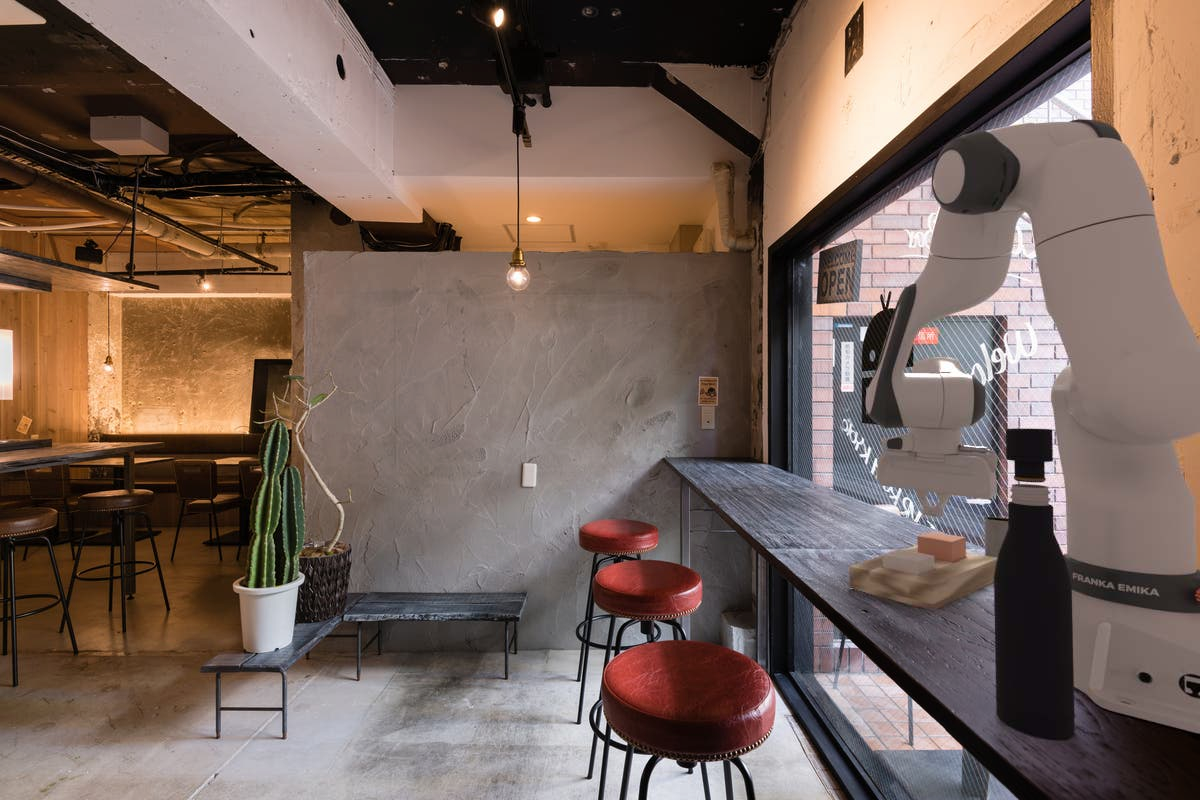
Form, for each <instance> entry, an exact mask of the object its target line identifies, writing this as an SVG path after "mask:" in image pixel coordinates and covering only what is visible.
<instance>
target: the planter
mask: <svg viewBox="0 0 1200 800" xmlns="http://www.w3.org/2000/svg"><path fill="white" fill-rule="evenodd" d="M983 524H984V555H985V556H991V557H996V558H998V554H999V551H1000V548H1001V546H1002V543H1003V541H1004V538H1005V536H1006V533H1007V531H1008V517H1002V516H985V517H984V523H983Z"/></svg>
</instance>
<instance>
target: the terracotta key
mask: <svg viewBox="0 0 1200 800" xmlns="http://www.w3.org/2000/svg"><path fill="white" fill-rule="evenodd" d="M966 538H967V537H965V536H960V535H953V534H948V533H947V534H946V533H940V532H935V531H931V532H927V533H924V534H920V535H918V536H917V545H918V553H922V554H928V555H933V556H934V559H935V560H941V561H946V562H951V563H954V562H957V561H959V560H962V559H965V558H966V552H967V547H966V545H967V544H966V543H967V539H966Z"/></svg>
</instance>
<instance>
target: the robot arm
mask: <svg viewBox="0 0 1200 800" xmlns="http://www.w3.org/2000/svg"><path fill="white" fill-rule="evenodd" d="M931 174H932V175H931V189H932V194H933V196H934V199H935V200H936V202H937V203H938V205H939V207H938V210H937V214H936V218H935V220H934V224H933V228H932V234H931V237H930V243H929V251H928V256H927V257H928V258H927V261H926V263H925V266H924V268H923V270H922V272H921V273H920V275H919V276H918V277H917V279H916V280H914V282H911V283H910V284H908V285H906V286H905V287H904V288H903V290H902V291H901V293H900V295H899V297H898V299H897V301H896V305H895V308H894V311H893V314H892V316H891V319H890V322H889V326H888V328H887V329H888V330H887V333H886V336H885V339H884V342H883V345H882V348H881V353H880V354H879V355H880V356H879V359H878V363H877V365H876V368H875V370H874V373H873V375H872V378H871V380H870V383H869V385H868V389H867V390H866V395H865V409H866V414H867V415H868V416H867V417H869V418H870V419H871V421H873V422H874V423H876V424H877V425H879V426H880V427H881V428H883V429H897V428H898V429H901V428H905V427H906V428H907V429H908V430H907V433H903V434H902V433H901V434H898V435H896V436H891V437H887V438H883V439H882V440H881V448H882V449H883V451H881V452H880V454H879V456H878V460H877V466H876V481H877V483H878V484H879V485H880V486H881V487H889V488H897V489H903V490H913V491H916V498H917V500H918V501H919V503H920V505H921V506H922V516H930V517H934V518H942V517H943V513H944V512H943V510H944V509H943V508H944V507H945V506H946V505H947V503H948V502H949V500H950V498H951V496H957V497H965V498H974V499H980V500H991V499H993V498H994V497H996V495H997V493H998V485H997V484H998V483H997V482H998V481H997V475H996V470H997V468H998V456H997V453H996V452H994V450H992V449H990V448H989V447H987V446H973V445H966V444H965V445H964V444H963V441H962V439H963V438H962V436H963V434H962V433H963V428H968V427H972V426H973V425H976V423H977V422H978V421H980V420H981V419H982V418H983V417H984V416H985V414H986V399H987V398H986V396H987V395H986V394H987V393H986V386H985V385H984V384H983V383H982V382H981V381H980V380H979V379H977V378H976V376H973V375H972V374H966V373H964V372H963V371H962V368H961V363H960V361H959V360H958V359H956V358H954V357H950V356H929V357H923V358H921V359H917V361H915V362H914V364H913V368H912V371H911V372H909V373H908V372H905V369H906V367H907V363H908V362H909V361H908V360H909V357H910V355H911V352H912V348H913V345H914V342H915V339H916V337H917V335H918V334H919V332H921V331H922V330H923V329H924V328H925V327H926V326H928V325H930V324H931V323H934V322H935V321H938V320H939V319H940V320H941V319H942V318H944V317H948V316H951V315H953V314H957V313H961V312H963V311H966V310H969V309H973V308H974V307H976V306H979V305H980V304H982V303H984V302H985V301H987V300H989V299H990V298H991V297H992V296H994V295H995V294H996V293H997V292H998V291H999V290H1000V289H1001V287H1002V286H1004V285H1003V284H1004V283H1005V281H1006V278H1007V275H1008V272H1009V268H1010V264H1011V261H1012V260H1011V259H1012V255H1013V248H1014V242H1015V235H1016V234H1015V233H1016V227H1017V223H1018V221H1019V220H1020V217H1022V215H1024V214H1025V213H1026V214H1027V216H1028V217H1029V222H1030V225H1031V234H1032V239H1033V240H1032V241H1033V247H1034V252H1035V255H1036V262H1037V267H1038V272H1039V277H1040V283H1041V288H1042V289H1041V290H1042V293H1043V299H1044V302H1045V308H1046V311H1047V314H1049V316H1050V317H1051V319H1052V321H1053V323H1054V324H1055V328H1056V330H1057V332H1058V334H1059V336H1060V340H1061V342H1062V345H1063V347H1064V350H1065V353H1066V356H1067V359H1068V361H1069V364H1068V365H1066V366H1065V367H1064V368H1063V369H1062V370H1061V372H1059V374H1058V376H1057V377H1056V378H1055V380H1054V382H1053V384H1052V388H1051V391H1050V402H1051V407H1052V410H1053V411H1052V412H1053V420H1054V429H1055V435H1056V436H1055V437H1056V443H1057V450H1058V455H1059V459H1060V461H1059V462H1060V467H1061V470H1062V476H1063V482H1064V490H1065V491H1064V492H1065V510H1066V511H1065V520H1066V553H1064V554H1063V556H1064V558H1065V561H1066V564H1067V568H1068V572H1069V576H1070V581H1071V585H1072V621H1073V668H1074V688H1076V689H1078V690H1079V691H1081V692H1082V693H1084V694H1085V695H1087V696H1088V698H1090V699H1091V700H1092V701H1093V703H1095V704H1096V705H1098V706H1099V707H1100V708H1103V709H1106V710H1107V711H1110V712H1111V711H1112V712H1114V713H1117V714H1122V715H1126V716H1131V717H1135V718H1137V719H1142V720H1144V721H1145V720H1146V721H1149V722H1154V723H1157V724H1160V725H1165V726H1168V727H1172V728H1176V729H1180V730H1184V731H1187V732H1191V733H1195V734H1199V735H1200V569H1198V567H1197V566H1198V564H1197V562H1198V561H1197V531H1196V530H1197V528H1196V527H1197V526H1196V525H1197V523H1196V500H1195V497H1194V494H1193V492H1192V491H1191V489H1190V488H1189V485H1188V484H1187V482H1186V479H1185V476H1184V474H1183V470H1182V468H1181V464H1180V461H1179V458H1178V457H1179V456H1178V454H1177V451H1176V447H1175V446H1176V445H1175V442H1178V441H1181V440H1184V439H1187V438H1190V437H1192V436H1194V435H1197V434H1199V433H1200V342H1199V340H1198V338H1197V336H1196V333H1195V331H1194V329H1193V327H1192V325H1191V323H1190V322H1189V320H1188V317H1187V315H1186V314H1185V312H1184V310H1183V308H1182V306H1181V304H1180V302H1179V300H1178V298H1177V295H1176V293H1175V291H1174V288H1173V286H1172V283H1171V279H1170V275H1169V272H1168V271H1169V270H1168V268H1167V263H1166V257H1165V254H1164V253H1165V252H1164V250H1163V244H1162V240H1161V235H1160V231H1159V226H1158V223H1157V222H1158V221H1157V218H1156V212H1155V209H1154V204H1153V200H1152V197H1151V193H1150V191H1149V188H1148V186H1147V182H1146V181H1145V177H1144V175H1143V173H1142V171H1141V169H1140V166H1139V164H1138V162H1137V161H1136V158H1135V156H1134V155H1133V153H1132V151H1131V149H1130V148H1129V147H1128V145H1127V144H1125V142H1123V140H1122V137H1121V135H1120V133H1119V131H1118V130H1117V128H1115V127H1114V126H1113V125H1112V124H1109V123H1107V122H1104V121H1100V120H1094V119H1082V118H1081V119H1080V118H1079V119H1073V120H1070V121H1050V122H1037V123H1036V122H1024V123H1018V124H1012V125H1007V126H1004V127H1003V126H1002V127H998V128H994V129H989V130H976V131H973V132H969V133H966V134H964V135H961V136H959V137H957V138H955V139H954V138H953V140H951V141H949V142H948V143H947V144H946V145H945V146H944V147H943V148H942V150H941V151H940V153H939V155H938V156H937V158H936V159H935V163H934V165H933V169H932V173H931ZM930 493H935V494H936V499H938V500H939V501H938V503H937V504H936V505H931V504H930V502H929V500H928V498H927V497H928V496H930Z"/></svg>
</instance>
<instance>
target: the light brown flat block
mask: <svg viewBox="0 0 1200 800" xmlns="http://www.w3.org/2000/svg"><path fill="white" fill-rule="evenodd" d="M902 550H906V551H912V552H917V553H918V544H916V545H913V546H910V547H908V548H904V549H902ZM996 562H997V558H996V557H991V556H985V554H979V553H972V552H968V551H966V558H965V559H962V560H959V561H957V562H954V563H951V562H946V561H941V560H935V559H934V569H935V570H933V571H931V572H928V573H925V574H923V575H920V576H918V575H913V574H909V573H904V572H900V571H895V570H891V569H886V568H883V555H881V556H878V557H875V558H872V559H871V558H870V559H868V560H865V561H862V562H859V563H855V564H852V565H850V566H848V570H849V571H848V572H849V589H850V588H853V589H856V590H859V591H858V592H860V591H863V592H866V593H865V594H867V593H869V594H868V595H871V594H872V595H871V596H876V597H879V598H884V599H886V598H887V599H886V600H890V599H891V601H895V602H899V603H903V604H906V605H910V606H913V607H917V608H922V609H926V610H929V611H935V610H937V609H940V608H942V607H944V606H947V605H948V604H950V603H952V602H954V601H956V600H958V599H960V598H963V597H965V596H967V595H969V594H971V593H974V592H976V591H977V590H979V589H982V588H984V587H986V586H988V585H990V584H992V583H993V584H994V573H995V567H996ZM856 590H855V591H856ZM863 592H862V593H863Z"/></svg>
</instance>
